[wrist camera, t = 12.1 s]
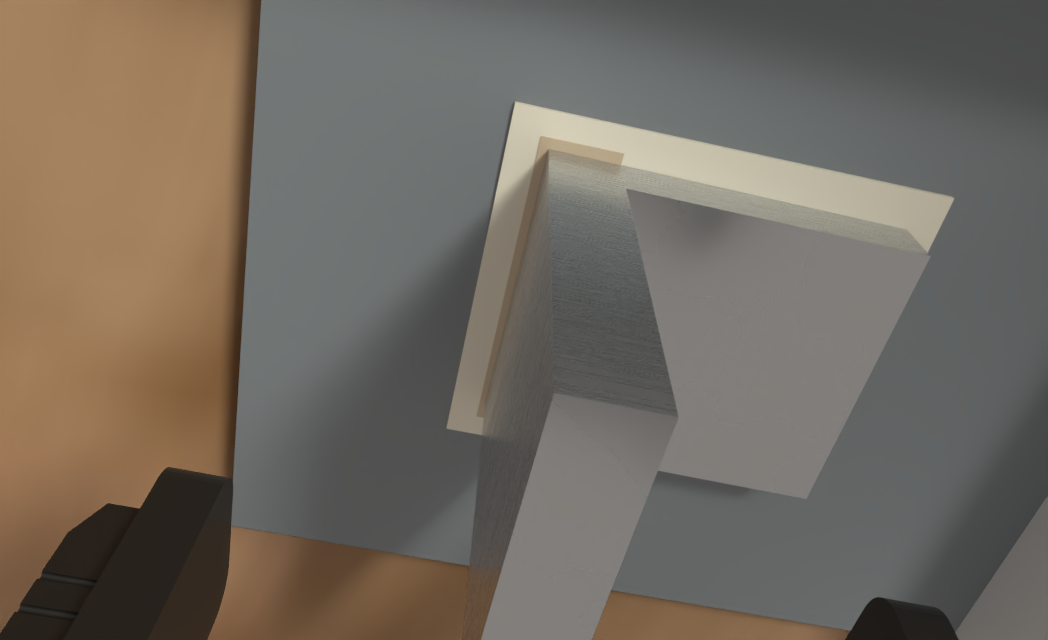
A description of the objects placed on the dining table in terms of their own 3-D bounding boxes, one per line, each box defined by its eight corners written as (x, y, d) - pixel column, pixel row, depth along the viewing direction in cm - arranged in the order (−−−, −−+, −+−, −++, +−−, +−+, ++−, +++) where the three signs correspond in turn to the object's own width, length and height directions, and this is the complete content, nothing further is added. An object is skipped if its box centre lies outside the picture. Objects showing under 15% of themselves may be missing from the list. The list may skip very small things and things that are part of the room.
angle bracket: (484, 404, 19) (453, 732, 12) (548, 148, 16) (554, 392, 9) (792, 463, 20) (926, 806, 13) (906, 229, 17) (1159, 511, 10)
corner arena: (297, -375, 13) (200, -451, 10) (1459, -72, 15) (1763, -36, 11) (240, 503, 22) (178, 642, 18) (974, 629, 24) (1054, 780, 20)
